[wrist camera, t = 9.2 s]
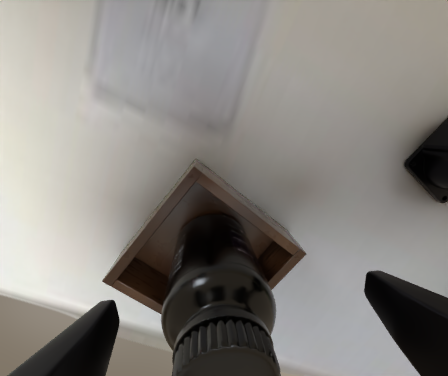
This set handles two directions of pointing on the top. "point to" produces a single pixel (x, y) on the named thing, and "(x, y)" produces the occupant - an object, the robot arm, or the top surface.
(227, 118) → the top surface
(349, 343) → the top surface
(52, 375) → the robot arm
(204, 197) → the holder
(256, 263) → the supplement bottle
